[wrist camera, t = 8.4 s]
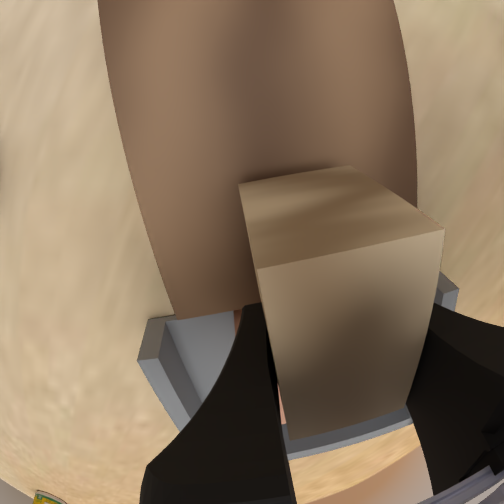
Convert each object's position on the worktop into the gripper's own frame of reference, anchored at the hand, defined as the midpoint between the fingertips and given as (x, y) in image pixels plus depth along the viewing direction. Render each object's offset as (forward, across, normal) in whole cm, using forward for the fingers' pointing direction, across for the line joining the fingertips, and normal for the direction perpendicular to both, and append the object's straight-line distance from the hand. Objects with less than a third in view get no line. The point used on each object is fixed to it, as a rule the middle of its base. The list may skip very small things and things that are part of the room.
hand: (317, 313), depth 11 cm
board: (+4, 0, -6) cm, 7 cm away
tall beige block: (+1, 0, -2) cm, 2 cm away
